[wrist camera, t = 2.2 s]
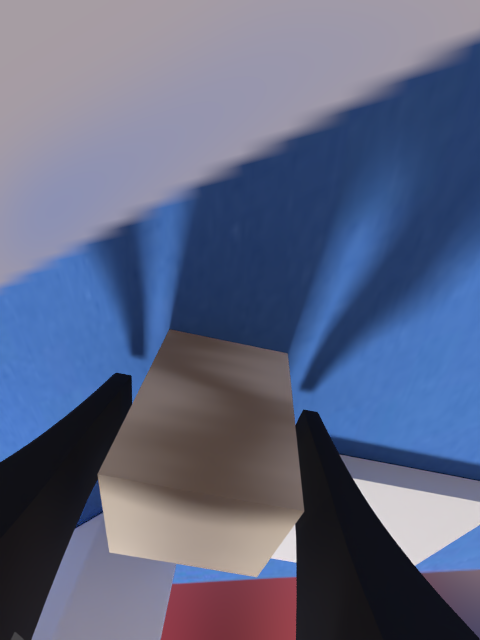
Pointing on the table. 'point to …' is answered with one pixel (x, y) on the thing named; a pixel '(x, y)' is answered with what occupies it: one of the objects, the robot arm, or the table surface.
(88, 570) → the medicine bottle
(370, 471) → the white board
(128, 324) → the table surface
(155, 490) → the maple block
